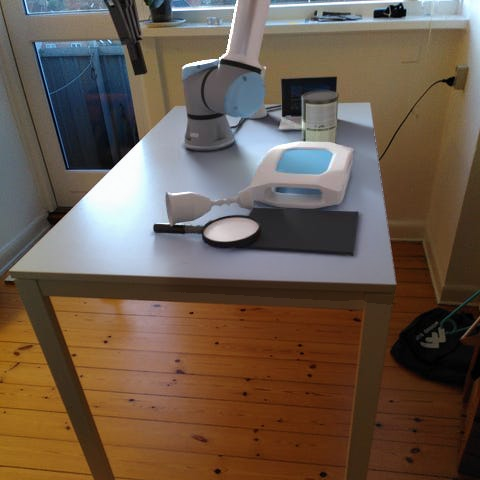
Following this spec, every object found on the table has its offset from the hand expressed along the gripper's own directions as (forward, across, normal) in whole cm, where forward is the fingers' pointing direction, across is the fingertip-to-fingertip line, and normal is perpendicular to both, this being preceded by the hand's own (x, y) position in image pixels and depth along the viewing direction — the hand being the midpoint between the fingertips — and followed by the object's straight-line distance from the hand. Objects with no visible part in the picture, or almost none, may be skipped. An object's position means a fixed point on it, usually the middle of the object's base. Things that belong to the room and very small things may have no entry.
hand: (141, 73), depth 119 cm
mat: (+30, +25, +36) cm, 53 cm away
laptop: (+33, -49, +32) cm, 67 cm away
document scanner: (+31, 0, +35) cm, 47 cm away
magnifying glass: (+27, +29, +16) cm, 43 cm away
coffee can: (+32, -28, +37) cm, 57 cm away
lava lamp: (+31, -61, +13) cm, 70 cm away
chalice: (+24, +20, +25) cm, 40 cm away
